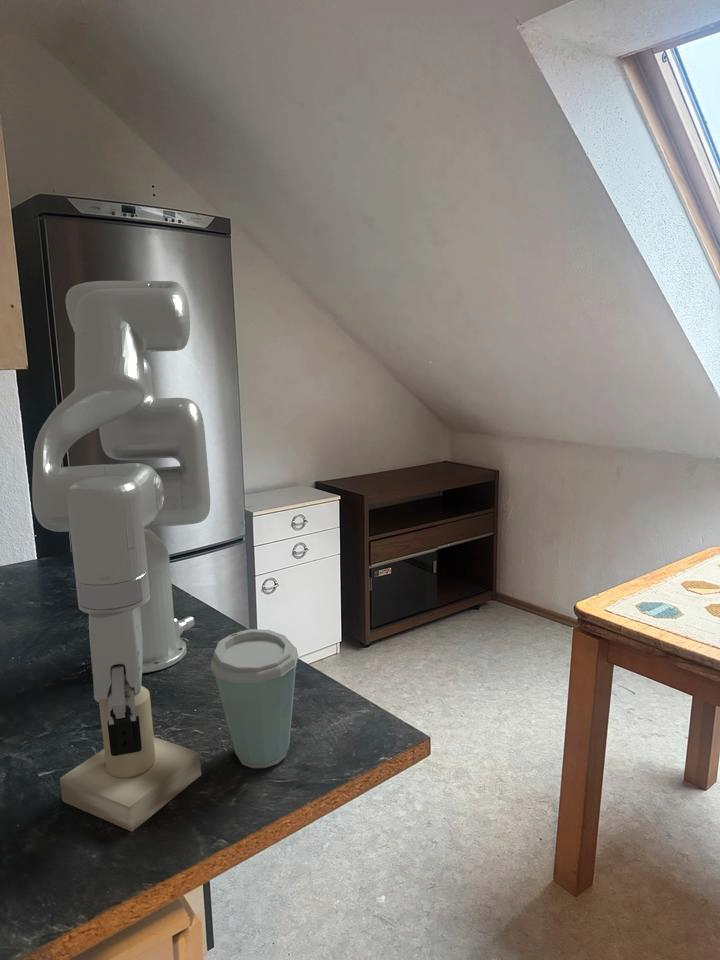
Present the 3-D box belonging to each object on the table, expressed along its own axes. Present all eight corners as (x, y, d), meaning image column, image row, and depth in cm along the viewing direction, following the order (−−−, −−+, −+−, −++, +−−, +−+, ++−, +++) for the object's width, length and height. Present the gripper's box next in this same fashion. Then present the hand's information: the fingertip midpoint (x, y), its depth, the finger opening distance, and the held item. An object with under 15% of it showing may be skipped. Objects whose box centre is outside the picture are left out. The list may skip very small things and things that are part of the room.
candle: (165, 761, 81) (158, 683, 79) (123, 785, 77) (114, 703, 75) (138, 745, 85) (131, 669, 83) (97, 766, 81) (88, 688, 79)
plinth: (135, 750, 89) (133, 729, 88) (201, 774, 84) (199, 752, 83) (62, 801, 79) (59, 778, 79) (132, 831, 74) (129, 807, 74)
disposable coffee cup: (320, 754, 87) (316, 643, 84) (249, 793, 80) (241, 674, 77) (270, 722, 95) (264, 619, 92) (201, 755, 88) (192, 645, 85)
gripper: (84, 567, 84) (98, 697, 87) (68, 624, 67) (87, 780, 71) (149, 561, 86) (160, 687, 89) (149, 614, 70) (162, 766, 73)
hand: (128, 728), depth 80 cm, fingers open, 9 cm apart
